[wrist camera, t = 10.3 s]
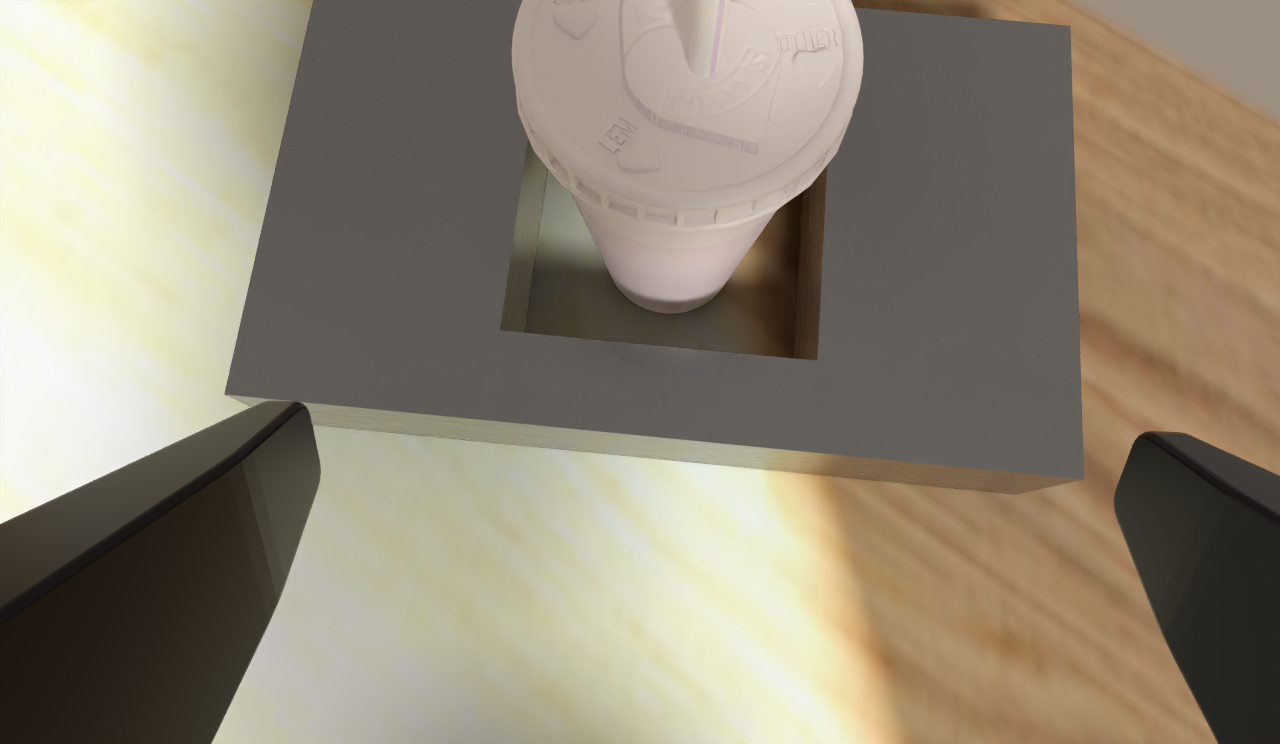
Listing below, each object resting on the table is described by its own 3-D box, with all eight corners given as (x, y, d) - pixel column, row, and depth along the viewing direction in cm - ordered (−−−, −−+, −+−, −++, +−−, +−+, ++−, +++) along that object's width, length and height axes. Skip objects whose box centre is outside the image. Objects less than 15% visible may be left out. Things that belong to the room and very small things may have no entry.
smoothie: (627, 400, 23) (606, 140, 9) (520, 214, 24) (368, -246, 11) (822, 292, 24) (1062, -91, 10) (708, 118, 25) (786, -424, 12)
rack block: (1016, 494, 22) (1083, 478, 19) (286, 422, 23) (224, 394, 19) (1012, 99, 25) (1070, 25, 22) (363, 42, 26) (322, -39, 22)
